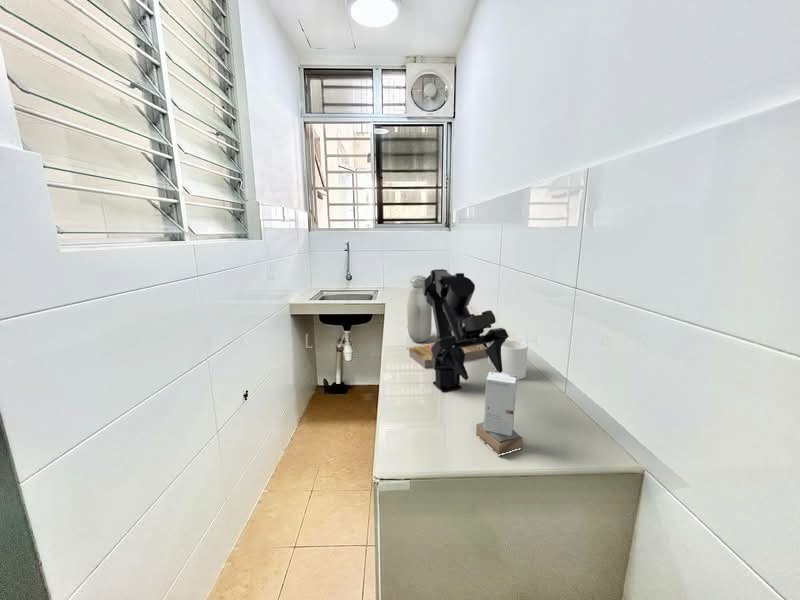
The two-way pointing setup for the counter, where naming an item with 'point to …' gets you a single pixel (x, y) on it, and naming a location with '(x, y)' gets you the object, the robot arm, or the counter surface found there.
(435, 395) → the counter surface
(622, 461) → the counter surface
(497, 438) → the block
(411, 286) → the glass bottle
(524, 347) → the mug
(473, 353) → the rafter model
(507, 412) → the skincare box
